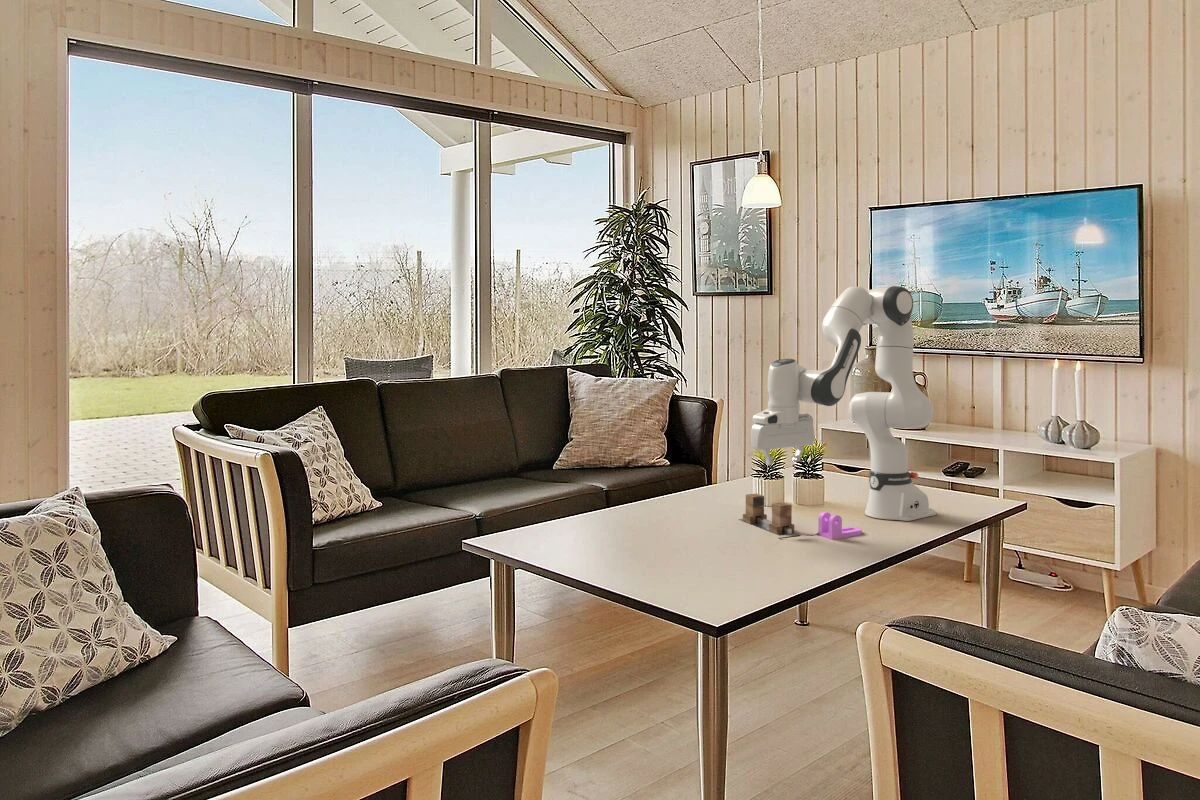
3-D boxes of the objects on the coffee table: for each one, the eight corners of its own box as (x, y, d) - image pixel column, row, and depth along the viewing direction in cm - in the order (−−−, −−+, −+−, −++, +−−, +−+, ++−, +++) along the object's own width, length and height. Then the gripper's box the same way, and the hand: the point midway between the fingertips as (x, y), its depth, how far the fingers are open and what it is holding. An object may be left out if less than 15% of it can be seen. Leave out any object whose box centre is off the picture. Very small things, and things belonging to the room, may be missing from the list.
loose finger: (784, 527, 263) (784, 501, 262) (794, 531, 259) (794, 504, 258) (767, 530, 261) (767, 503, 260) (777, 533, 257) (777, 506, 256)
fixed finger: (759, 518, 275) (759, 493, 275) (768, 521, 271) (768, 495, 270) (742, 520, 273) (742, 494, 272) (751, 523, 269) (751, 497, 268)
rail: (757, 520, 277) (757, 512, 277) (799, 536, 257) (799, 527, 257) (737, 522, 275) (737, 514, 274) (779, 538, 255) (779, 530, 254)
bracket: (831, 540, 253) (832, 516, 252) (818, 536, 258) (818, 512, 257) (865, 534, 259) (866, 510, 258) (851, 530, 264) (852, 507, 263)
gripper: (805, 411, 264) (805, 457, 265) (747, 416, 256) (747, 464, 257) (819, 414, 258) (819, 461, 260) (760, 419, 250) (760, 467, 251)
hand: (783, 462), depth 258 cm, fingers open, 8 cm apart
